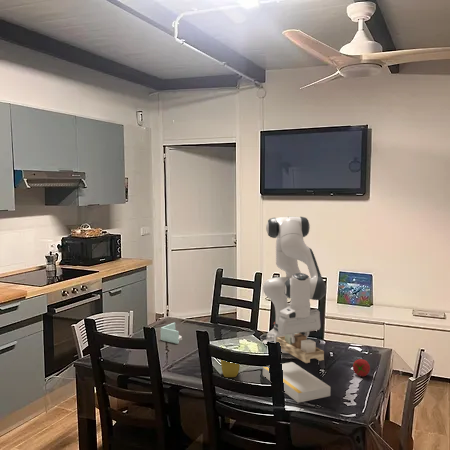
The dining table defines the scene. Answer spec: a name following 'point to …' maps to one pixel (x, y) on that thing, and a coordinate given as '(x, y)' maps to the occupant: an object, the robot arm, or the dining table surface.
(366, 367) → the tomato
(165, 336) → the l-shaped corner panel
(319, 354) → the wooden block holder
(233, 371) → the flower pot
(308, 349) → the block
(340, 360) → the dining table surface
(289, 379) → the dock
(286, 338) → the block
